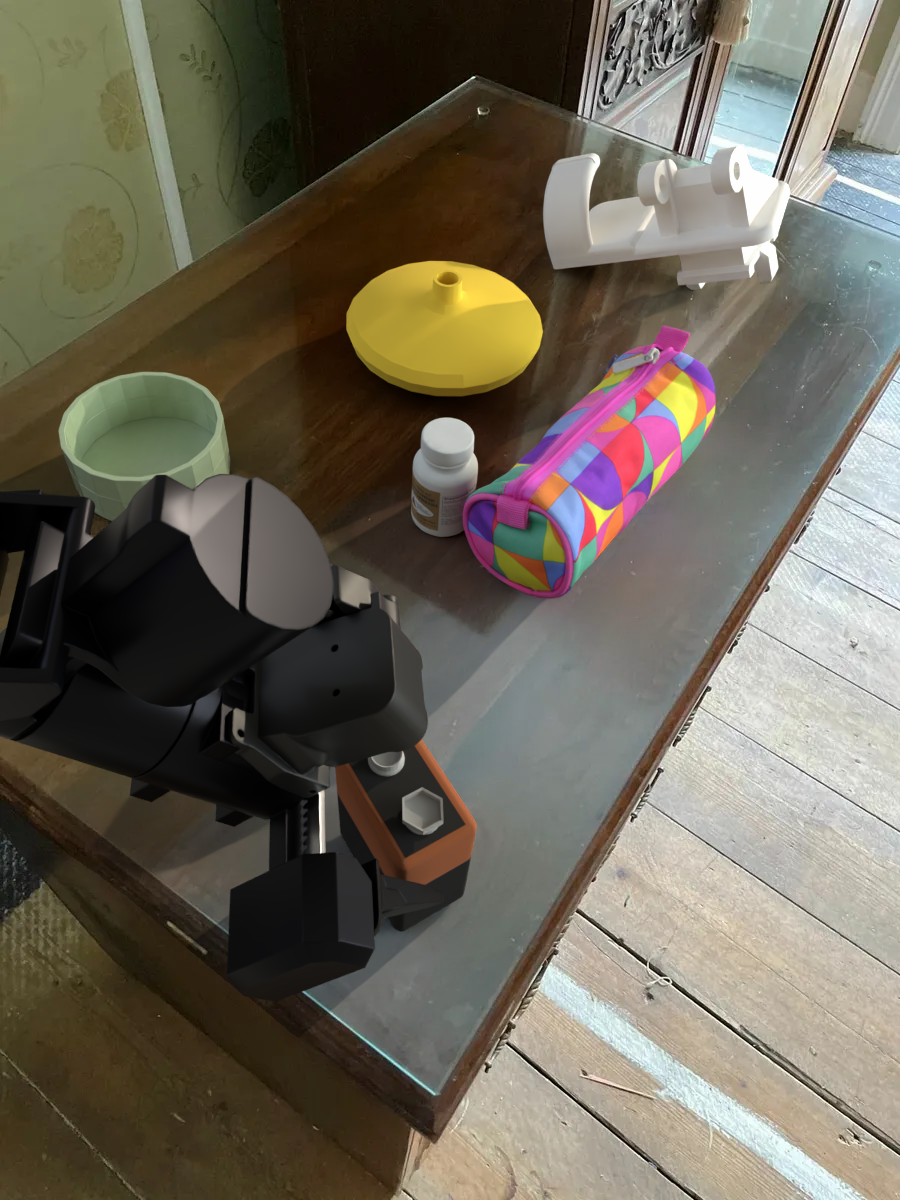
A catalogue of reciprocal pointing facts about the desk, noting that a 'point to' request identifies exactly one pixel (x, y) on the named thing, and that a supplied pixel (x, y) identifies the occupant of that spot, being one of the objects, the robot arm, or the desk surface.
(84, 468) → the bowl
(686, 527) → the desk surface
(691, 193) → the tape dispenser
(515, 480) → the pencil case
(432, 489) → the pill bottle
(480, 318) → the vase
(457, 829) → the battery
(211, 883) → the desk surface
